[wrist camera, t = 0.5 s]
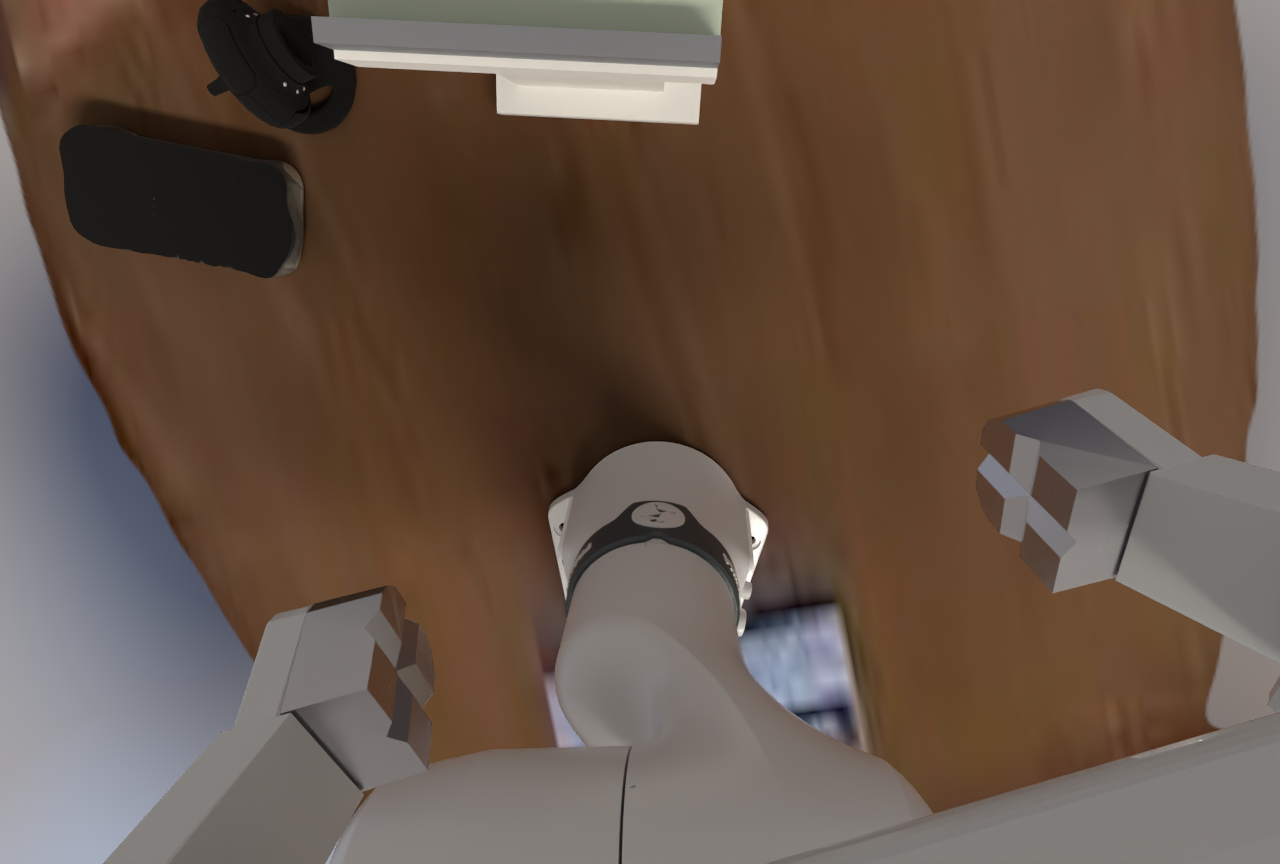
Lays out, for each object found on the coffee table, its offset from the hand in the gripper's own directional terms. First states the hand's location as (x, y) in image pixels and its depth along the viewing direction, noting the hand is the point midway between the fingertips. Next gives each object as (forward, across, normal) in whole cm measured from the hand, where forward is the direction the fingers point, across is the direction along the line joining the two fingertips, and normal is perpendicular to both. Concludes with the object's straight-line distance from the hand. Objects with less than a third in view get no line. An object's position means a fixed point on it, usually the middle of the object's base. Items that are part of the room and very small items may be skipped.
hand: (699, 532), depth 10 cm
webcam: (+52, -15, +2) cm, 54 cm away
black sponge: (+52, -26, -5) cm, 59 cm away
